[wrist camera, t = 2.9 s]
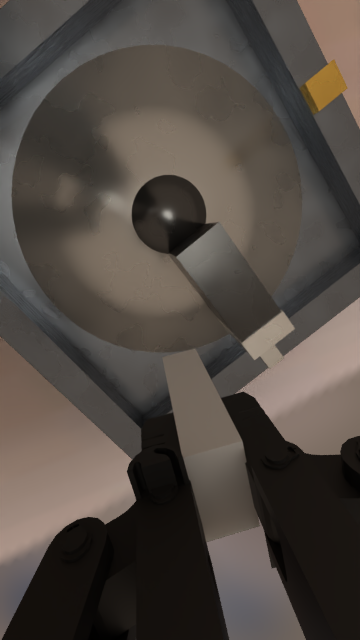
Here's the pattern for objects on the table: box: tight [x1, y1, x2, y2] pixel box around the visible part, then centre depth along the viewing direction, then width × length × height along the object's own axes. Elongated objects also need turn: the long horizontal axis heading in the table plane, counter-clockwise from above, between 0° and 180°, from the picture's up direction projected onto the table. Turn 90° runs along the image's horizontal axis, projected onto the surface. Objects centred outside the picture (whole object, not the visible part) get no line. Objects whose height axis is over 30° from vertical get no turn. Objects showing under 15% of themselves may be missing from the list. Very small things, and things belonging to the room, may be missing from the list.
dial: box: [11, 45, 302, 360], centre depth 17 cm, size 17×17×6 cm
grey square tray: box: [0, 0, 360, 459], centre depth 20 cm, size 24×24×5 cm
